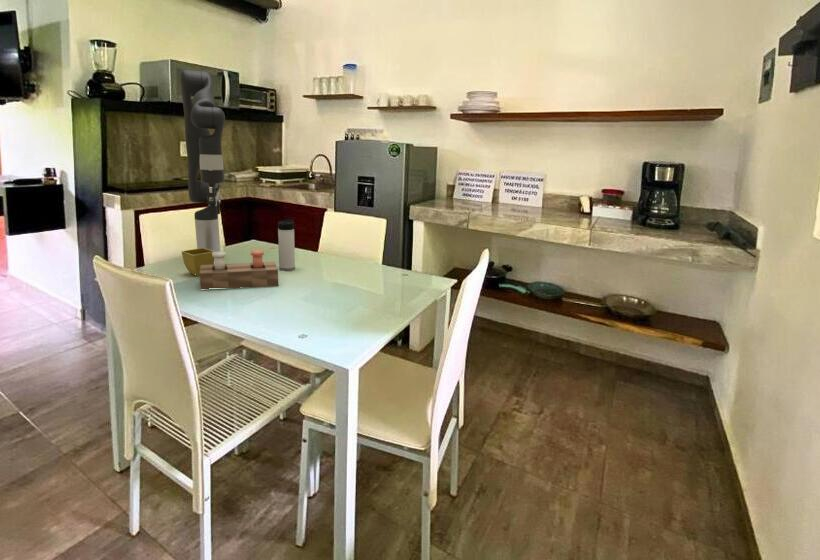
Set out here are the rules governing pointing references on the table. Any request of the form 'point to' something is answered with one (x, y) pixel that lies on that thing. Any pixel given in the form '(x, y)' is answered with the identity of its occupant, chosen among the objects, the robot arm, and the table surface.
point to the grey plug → (219, 260)
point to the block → (238, 276)
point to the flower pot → (197, 259)
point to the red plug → (257, 258)
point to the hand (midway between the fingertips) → (215, 215)
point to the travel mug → (286, 245)
